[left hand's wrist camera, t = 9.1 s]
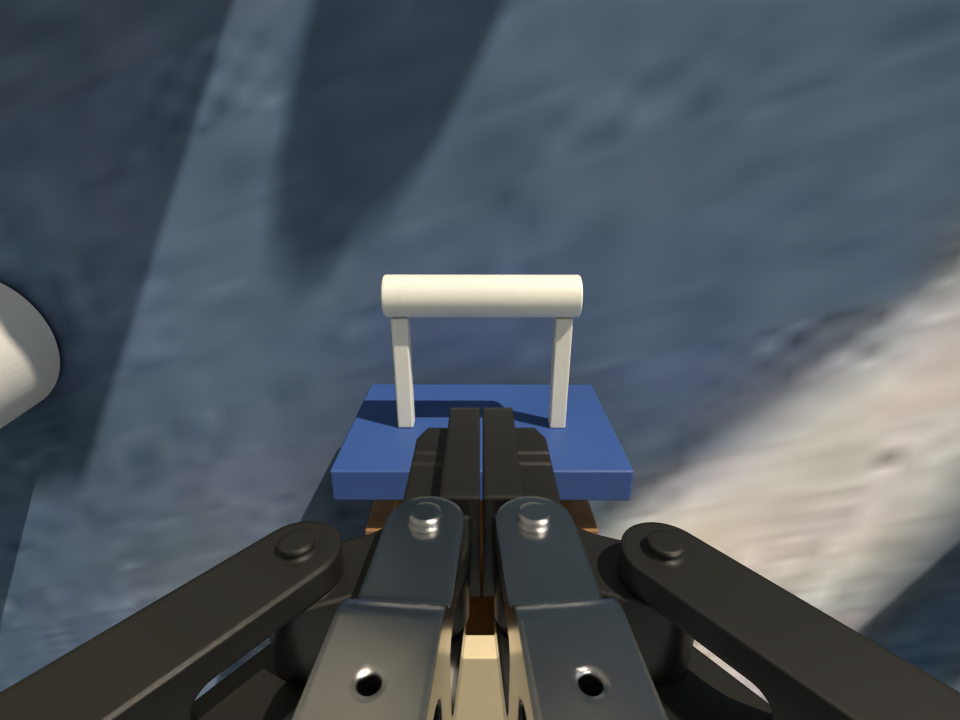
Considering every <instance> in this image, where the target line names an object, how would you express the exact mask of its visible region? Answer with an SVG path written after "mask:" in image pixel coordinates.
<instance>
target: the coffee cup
mask: <svg viewBox="0 0 960 720" xmlns="http://www.w3.org/2000/svg"><path fill="white" fill-rule="evenodd" d="M59 371H60V356H59V350H58V346H57V343H56V340H55V338H54V335H53V333H52V331H51V329H50V327H49V326H48V324H47V323H46V321H45V320H44V318H43V317H42V316H41V314H40V313H39V312H38V311H37V310H36V309H35V308H34V307H33V306H32V305H31V304H30V303H29V302H28V301H27V300H26V299H25V298H24V297H22V296H21V295H20V294H18V293H17V292H15V291H14V290H12V289H11V288H9V287H7V286H6V285H4V284H2V283H0V429H1V428H2V427H4V426H5V425H7V424H8V423H10V422H11V421H13V420H14V419H15V418H17V417H18V416H20V415H21V414H23V413H24V412H26V411H27V410H29V409H30V408H32V407H33V406H35V405H36V404H38V403H39V402H41V401H42V400H43V399H45V398H46V397H47V396H48V395H49V394H50V392H51V391H52V390H53V388H54V386H55V384H56V382H57V379H58V376H59Z"/></svg>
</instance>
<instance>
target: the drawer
mask: <svg viewBox="0 0 960 720" xmlns="http://www.w3.org/2000/svg"><path fill="white" fill-rule="evenodd" d="M582 303H583V285H582V280H581V277H580V276H579V275H384V276H383V279H382V284H381V304H382V310H383V314H384V316H385V317H392V319H391V329H392V344H393V359H394V374H395V384H372V385H371V387H370V389H369V391H368V393H367V395H366V397H365V399H364V401H363V404H362V406H361V408H360V410H359V412H358V414H357V416H356V418H355V420H354V422H353V424H352V426H351V428H350V431H349V433H348V435H347V437H346V439H345V441H344V443H343V445H342V447H341V449H340V451H339V453H338V456H337V458H336V460H335V462H334V464H333V466H332V468H331V470H330V476H331V484H332V492H333V498H334V500H374V503H373V507H372V510H371V513H370V516H369V520H368V523H367V526H366V529H365V535H368V534H371V533H373V532H376V531H378V530H380V529H382V528H384V526H385V523H386V520H387V518H388V516H389V514H390V513H391V511H392V510H393V509H394V508H395V507H396V506H398V505H399V504H401V503H402V502H403V498H404V493H405V489H406V484H407V480H408V476H409V471H410V467H411V462H412V458H413V455H414V449H415V445H416V440H417V438H418V437H419V436H420V435H421V434H422V433H423V432H424V431H425V430H426V429H427V428H448V422H449V413H450V408H480V597H470V599H469V617H468V620H467V623H466V635H494V597H483V485H482V450H483V407H512V409H513V416H514V424H515V428H535V429H536V430H538V431H539V432H540V433H541V434H542V435H543V436H544V437H545V438H546V441H547V445H548V450H549V454H550V458H551V462H552V467H553V471H554V475H555V479H556V484H557V488H558V492H559V496H560V501H561V505H562V506H564V507H565V508H566V509H567V510H568V511H569V513H570V514H571V516H572V518H573V520H574V523H575V524H576V525H577V526H579V527H580V528H582V529H584V530H586V531H588V532H591V533H593V534H597V535H598V529H597V526H596V523H595V520H594V516H593V513H592V510H591V507H590V504H589V501H588V500H629V499H630V495H631V488H632V480H633V473H634V472H633V469H632V467H631V465H630V463H629V461H628V459H627V457H626V455H625V453H624V451H623V449H622V447H621V445H620V443H619V441H618V439H617V437H616V435H615V433H614V431H613V429H612V427H611V424H610V422H609V420H608V418H607V416H606V414H605V412H604V410H603V408H602V406H601V404H600V402H599V400H598V398H597V396H596V394H595V392H594V390H593V388H592V386H591V385H568V382H569V368H570V354H571V340H572V326H573V319H572V318H577V317H579V316H580V313H581V310H582ZM410 317H554V325H553V342H552V360H551V377H550V385H504V384H413V372H412V353H411V334H410Z"/></svg>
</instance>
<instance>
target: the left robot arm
mask: <svg viewBox="0 0 960 720" xmlns="http://www.w3.org/2000/svg"><path fill="white" fill-rule="evenodd" d="M482 485H483V597H494V638H495V647H496V656H497V664H498V673H499V681H500V690H501V699H502V707H503V716H504V720H960V692H958V691H956V690H954V689H953V688H951V687H949V686H948V685H946V684H944V683H943V682H941V681H939V680H938V679H936V678H934V677H932V676H931V675H929V674H927V673H926V672H924V671H922V670H921V669H919V668H917V667H915V666H914V665H912V664H910V663H909V662H907V661H905V660H904V659H902V658H900V657H898V656H897V655H895V654H893V653H892V652H890V651H888V650H887V649H885V648H883V647H881V646H880V645H878V644H876V643H875V642H873V641H871V640H870V639H868V638H866V637H864V636H863V635H861V634H859V633H858V632H856V631H854V630H853V629H851V628H849V627H847V626H846V625H844V624H842V623H841V622H839V621H837V620H836V619H834V618H832V617H830V616H829V615H827V614H825V613H824V612H822V611H820V610H819V609H817V608H815V607H813V606H812V605H810V604H808V603H807V602H805V601H803V600H802V599H800V598H798V597H796V596H795V595H793V594H791V593H790V592H788V591H786V590H785V589H783V588H781V587H779V586H778V585H776V584H774V583H773V582H771V581H769V580H768V579H766V578H764V577H762V576H761V575H759V574H757V573H756V572H754V571H752V570H751V569H749V568H747V567H745V566H744V565H742V564H740V563H739V562H737V561H735V560H734V559H732V558H730V557H728V556H727V555H725V554H723V553H722V552H720V551H718V550H717V549H715V548H713V547H712V546H710V545H708V544H706V543H705V542H703V541H701V540H700V539H698V538H696V537H695V536H693V535H691V534H689V533H688V532H686V531H684V530H682V529H680V528H677V527H675V526H671V525H668V524H663V523H655V522H647V523H640V524H637V525H634V526H632V527H630V528H629V529H628V530H626V531H625V533H624V534H623V536H622V539H621V540H617V539H613V538H609V537H604V536H600V535H597V534H593V533H591V532H588V531H586V530H584V529H582V528H580V527H579V526H577V525H576V524H575V523H574V520H573V518H572V516H571V514H570V513H569V511H568V510H567V509H566V508H565V507H564V506H562V505H561V501H560V496H559V492H558V488H557V484H556V479H555V475H554V471H553V467H552V462H551V458H550V454H549V450H548V445H547V441H546V438H545V437H544V436H543V435H542V434H541V433H540V432H539V431H538V430H536V429H535V428H515V424H514V416H513V409H512V407H483V450H482ZM470 597H480V408H450V413H449V422H448V428H427V429H426V430H425V431H424V432H423V433H422V434H421V435H420V436H419V437H418V438H417V440H416V445H415V449H414V455H413V458H412V462H411V467H410V471H409V476H408V480H407V484H406V489H405V493H404V498H403V502H402V503H401V504H399V505H398V506H396V507H395V508H394V509H393V510H392V511H391V513H390V514H389V516H388V518H387V520H386V523H385V526H384V528H382V529H380V530H378V531H376V532H373V533H371V534H368V535H364V536H360V537H356V538H352V539H347V540H343V541H341V539H340V536H339V533H338V532H337V530H336V529H334V528H333V527H332V526H330V525H328V524H325V523H322V522H316V521H305V522H298V523H293V524H290V525H287V526H284V527H282V528H280V529H278V530H276V531H274V532H272V533H271V534H269V535H267V536H265V537H264V538H262V539H260V540H259V541H257V542H255V543H254V544H252V545H250V546H249V547H247V548H245V549H243V550H242V551H240V552H238V553H237V554H235V555H233V556H232V557H230V558H228V559H226V560H225V561H223V562H221V563H220V564H218V565H216V566H215V567H213V568H211V569H209V570H208V571H206V572H204V573H203V574H201V575H199V576H198V577H196V578H194V579H192V580H191V581H189V582H187V583H186V584H184V585H182V586H181V587H179V588H177V589H175V590H174V591H172V592H170V593H169V594H167V595H165V596H164V597H162V598H160V599H158V600H157V601H155V602H153V603H152V604H150V605H148V606H147V607H145V608H143V609H141V610H140V611H138V612H136V613H135V614H133V615H131V616H130V617H128V618H126V619H124V620H123V621H121V622H119V623H118V624H116V625H114V626H113V627H111V628H109V629H107V630H106V631H104V632H102V633H101V634H99V635H97V636H96V637H94V638H92V639H90V640H89V641H87V642H85V643H84V644H82V645H80V646H79V647H77V648H75V649H73V650H72V651H70V652H68V653H67V654H65V655H63V656H62V657H60V658H58V659H56V660H55V661H53V662H51V663H50V664H48V665H46V666H45V667H43V668H41V669H40V670H38V671H36V672H34V673H33V674H31V675H29V676H28V677H26V678H24V679H23V680H21V681H19V682H17V683H16V684H14V685H12V686H11V687H9V688H7V689H6V690H4V691H2V692H0V720H456V716H457V707H458V699H459V690H460V681H461V673H462V664H463V656H464V647H465V638H466V623H467V620H468V617H469V599H470ZM268 637H269V638H270V644H269V645H268V646H266V647H265V648H264V649H263V650H261V651H260V652H259V653H257V654H256V655H255V656H253V657H252V658H251V659H249V660H248V661H247V662H245V663H244V664H243V665H242V666H240V667H239V668H238V669H236V670H235V671H234V672H232V673H231V674H230V675H228V676H227V677H226V678H224V679H223V680H222V681H221V682H219V683H218V684H217V685H215V686H214V687H213V688H211V689H210V690H209V691H207V692H206V693H205V694H203V695H202V696H201V697H199V698H198V699H197V700H196V701H194V700H195V698H196V697H197V695H198V694H199V692H200V691H201V690H202V689H203V687H204V686H205V685H206V684H207V683H208V682H210V681H211V680H212V679H213V678H215V677H216V676H217V675H219V674H220V673H221V672H223V671H224V670H225V669H227V668H228V667H229V666H231V665H232V664H233V663H235V662H236V661H237V660H239V659H240V658H241V657H243V656H244V655H245V654H247V653H248V652H249V651H251V650H252V649H253V648H255V647H256V646H257V645H259V644H260V643H261V642H263V641H264V640H265V639H267V638H268ZM694 639H695V640H696V641H697V642H699V643H700V644H701V645H703V646H704V647H705V648H707V649H708V650H709V651H711V652H712V653H713V654H715V655H716V656H717V657H719V658H720V659H721V660H723V661H724V662H725V663H727V664H728V665H729V666H731V667H732V668H733V669H735V670H736V671H737V672H739V673H740V674H741V675H743V676H744V677H745V678H747V679H748V680H749V681H751V682H752V683H753V684H754V685H755V686H756V687H757V688H758V689H759V690H760V691H761V692H762V693H763V695H764V696H765V697H766V699H767V701H768V703H769V704H768V703H767V702H766V701H764V700H763V699H762V698H761V697H759V696H758V695H757V694H755V693H754V692H753V691H751V690H750V689H749V688H747V687H746V686H745V685H743V684H742V683H741V682H740V681H738V680H737V679H736V678H734V677H733V676H732V675H730V674H729V673H728V672H726V671H725V670H724V669H722V668H721V667H720V666H718V665H717V664H716V663H715V662H713V661H712V660H711V659H709V658H708V657H707V656H705V655H704V654H703V653H701V652H700V651H699V650H697V649H696V648H695V647H694V646H693V642H694Z"/></svg>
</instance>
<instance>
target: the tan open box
mask: <svg viewBox="0 0 960 720" xmlns="http://www.w3.org/2000/svg"><path fill="white" fill-rule="evenodd" d="M456 720H504V716H503V707H502V699H501V690H500V681H499V673H498V664H497V656H496V647H495V638H494V635H466V638H465V647H464V656H463V664H462V673H461V681H460V690H459V699H458V707H457V716H456Z"/></svg>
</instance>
